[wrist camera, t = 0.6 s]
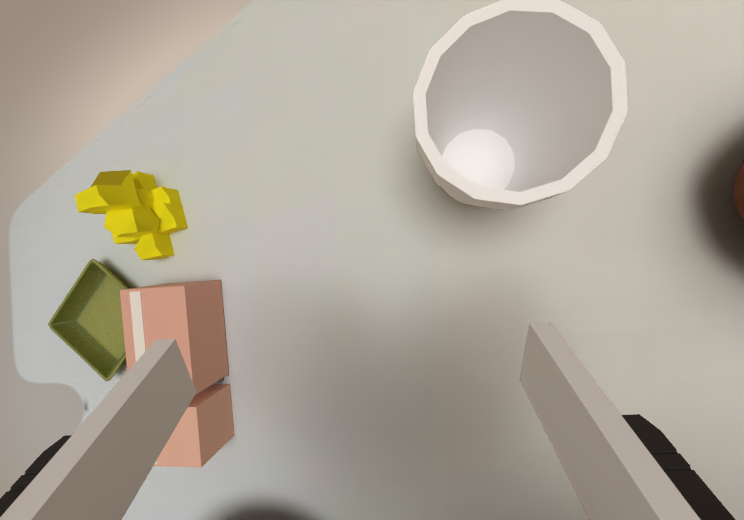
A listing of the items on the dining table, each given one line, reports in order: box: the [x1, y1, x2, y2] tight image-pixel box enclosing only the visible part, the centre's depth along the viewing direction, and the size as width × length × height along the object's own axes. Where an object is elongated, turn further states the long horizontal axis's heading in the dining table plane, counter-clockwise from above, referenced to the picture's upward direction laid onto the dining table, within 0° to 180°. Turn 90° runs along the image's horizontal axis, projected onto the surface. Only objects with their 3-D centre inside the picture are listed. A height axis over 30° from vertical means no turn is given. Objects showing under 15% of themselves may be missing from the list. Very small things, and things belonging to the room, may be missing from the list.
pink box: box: [153, 384, 234, 467], centre depth 31 cm, size 5×6×5 cm
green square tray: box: [48, 259, 129, 381], centre depth 34 cm, size 9×9×2 cm
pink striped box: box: [120, 280, 229, 395], centre depth 31 cm, size 10×6×5 cm, turn 4°
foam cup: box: [413, 0, 628, 210], centre depth 22 cm, size 10×9×13 cm
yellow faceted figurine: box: [75, 170, 188, 260], centre depth 30 cm, size 6×8×8 cm
